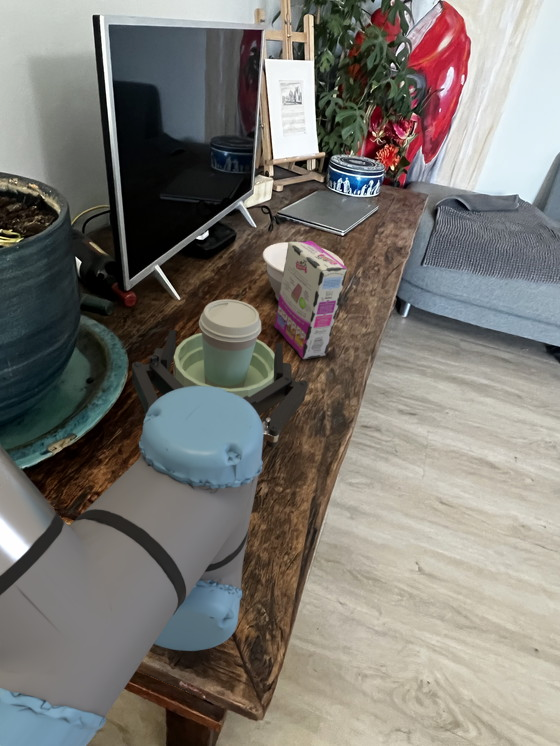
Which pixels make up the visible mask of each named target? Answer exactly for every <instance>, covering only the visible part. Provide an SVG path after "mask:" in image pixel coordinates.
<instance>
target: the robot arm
mask: <svg viewBox="0 0 560 746" xmlns="http://www.w3.org/2000/svg"><path fill="white" fill-rule="evenodd" d="M283 344H284V343H282V342H276V344H275V351H274V354H275V356H274V382H273V383H271V384H270V385H268V386H267V387H265V388H263V389H262V390H260V391H258V392H257V393H255V394H253V395H252V396H250V397H249V396H245V397H243V398H242V397H240V396H238V395H234V394H233V393H230V392H227V391H225V390H224V389H221V388H217V387H211V386H189V387H184V386H183V385H182V384H181V383H180V382H179V381H178V380H177V379H176V378H175V377H174V376H173V374H172V373H171V372H170V370H171V365H172V362H173V360H174V354H175V351H176V348H177V330H175V329H170V330H169V332H168V335H167V338H166V341H165V344H164V346H163V348H161V347H156V349H154V351H153V354H151V355H150V356H148V363H145V364H144V363H142V362H141V361H134V362H132V364H131V376H132V377H131V378H132V384H133V387H134V389H135V391H136V395H137V396H138V399H139V402H140V403H141V406H142V409H143V411H144V413H145V417H144V419H143V424H142V433H141V435H140V440H139V441H138V448H139V451H140V455H139V457H138V459H137V460H136V461H135V462H134V463H133V464H132V465H131V466H130V467H129V468H127V470H125V472H124V473H122V474H121V476H120V477H118V478H117V479H116V480H115V481H114V482H113V483H112V484H111V485H110V486H109V487H108V488H107V489H106V490H105V491H104V492H103V493H102V494H101V495H100V496H99V497H98V498H96V499H95V501H94V502H93V503H92V504H90V505H89V506H88V507H87V508H86V509H85V510H84V511H83V512H82V513H80V514H79V515H78V516H77V517H76V518H75V519H74V520H73V522H71V523H70V524H68V523H67V522H66V521H65V520H64V519H63V518H62V517H61V516H60V515H59V514H58V512H57V511H55V508H54V507H53V506H52V504H51V503H50V501H48V500H47V498H46V497H45V495H43V494H42V492H41V491H40V490H39V488H38V487H37V486H36V485H35V484H34V482H32V480H31V478H29V476H27V474H26V473H25V472H24V470H23V469H22V468H21V467H20V465H18V464H17V462H16V461H15V460H14V458H12V456H11V455H10V454H9V453H8V451H7V450H6V449H5V448H4V446H2V444H0V746H88V744H89V743H90V742H91V741H92V739H93V738H94V737H95V735H96V734H97V733H98V732H99V731H100V730H101V729H102V728H103V727H104V726H105V725H106V722H107V718H106V717H107V715H108V714H109V713H110V711H111V709H113V706H114V705H115V703H116V702H117V700H118V698H119V697H120V695H121V694H122V693H123V691H124V690H125V688H126V687H127V685H128V683H129V682H130V681H131V679H132V678H133V676H134V675H135V673H136V671H137V670H138V669H139V667H140V665H141V664H142V662H143V660H144V659H145V657H146V656H147V655H148V653H150V650H151V648H152V647H153V645H156V646H159V647H161V648H165V649H169V650H174V651H185V652H196V651H197V652H198V651H203V650H208V649H213V648H215V647H217V646H220V645H222V644H223V643H225V642H227V641H228V640H229V639H230V638H231V636H232V635H234V633H235V631H236V629H237V626H238V624H239V623H238V622H239V615H240V603H241V600H242V597H243V589H242V577H243V576H242V575H243V567H244V558H245V553H246V548H247V543H248V538H249V537H248V536H249V528H250V522H251V517H252V511H253V506H254V501H255V496H256V490H257V486H258V480H259V476H260V474H261V473H262V471H263V464H264V461H263V460H262V457H263V446H264V441H266V442H265V444H266V446H267V447H268V448H271V449H272V448H276V447H278V444H279V440H280V439H279V438H280V434H281V432H282V431H283V430H284V428H285V427H286V425H287V424H288V423H289V421H290V420H291V419H292V418H293V416H294V415H295V414H296V412H298V410H299V408H300V407H301V405H302V404H303V403H304V402H305V399H306V395H307V390H308V386H309V382H308V381H306V380H303V379H300V380H298V381H296V380H295V379H294V377H293V372H292V371H293V370H292V364H291V363H290V362H284V351H283V350H284V348H283V347H284V346H283ZM155 388H156V390H158V392H159V393H160V394H161V396H160V397H158V394H157V392H156V390H155ZM278 404H279V405H278ZM276 405H278V406H277V407H276V408H275V409H274V410H273V412H272V414H271V415H270V417H266V418H265V420H264V421H262V420H261V418H260V417H261V415H263V414H264V413H266V412H268V411H269V410H270V409H273V407H275V406H276Z"/></svg>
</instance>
